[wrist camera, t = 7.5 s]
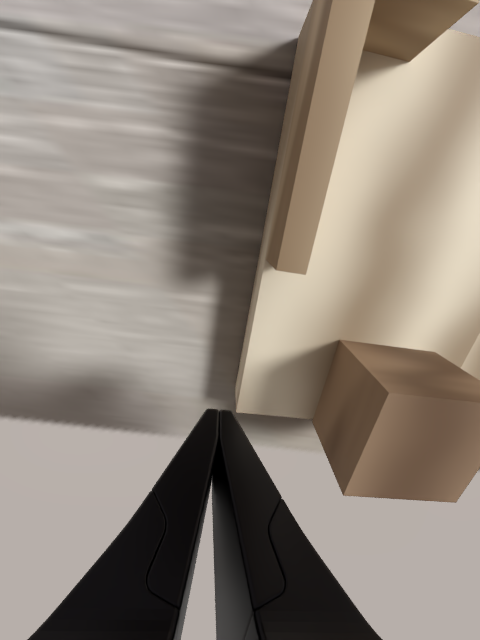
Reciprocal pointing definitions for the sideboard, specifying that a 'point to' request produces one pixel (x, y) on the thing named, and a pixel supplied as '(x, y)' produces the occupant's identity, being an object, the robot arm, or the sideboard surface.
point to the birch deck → (369, 201)
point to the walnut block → (399, 423)
